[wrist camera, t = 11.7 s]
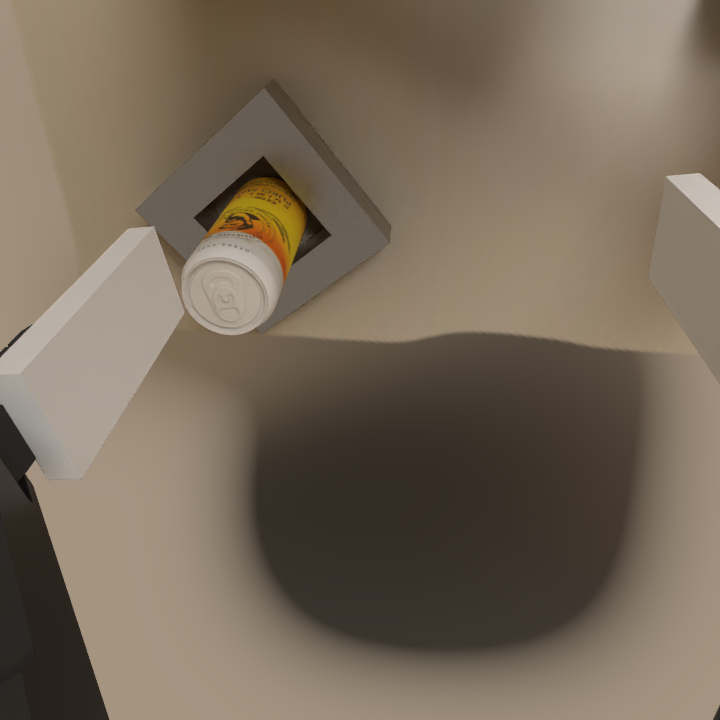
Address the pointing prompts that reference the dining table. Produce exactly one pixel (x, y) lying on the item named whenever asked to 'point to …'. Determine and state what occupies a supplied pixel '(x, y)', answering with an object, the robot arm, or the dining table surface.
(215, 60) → the dining table surface
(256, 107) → the collar
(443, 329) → the dining table surface
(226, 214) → the beer can
